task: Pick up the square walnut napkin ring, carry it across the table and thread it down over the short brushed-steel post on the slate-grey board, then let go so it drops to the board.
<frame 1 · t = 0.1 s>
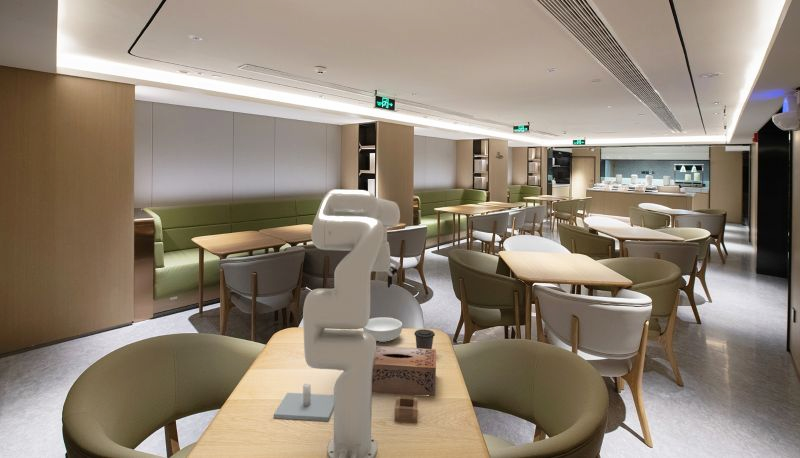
hand: (375, 286, 147), 31 cm above the table, fingers open, 9 cm apart
tissue box cover: (397, 384, 141), on the table
cereal bowl: (382, 339, 179), on the table
post board: (307, 408, 125), on the table
coffee cup: (423, 355, 163), on the table
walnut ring: (406, 415, 122), on the table
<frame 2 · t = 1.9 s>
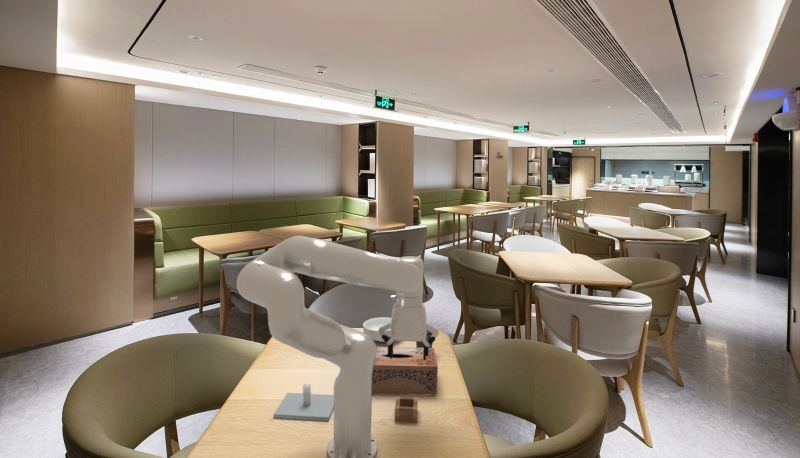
hand: (407, 357, 120), 18 cm above the table, fingers open, 9 cm apart
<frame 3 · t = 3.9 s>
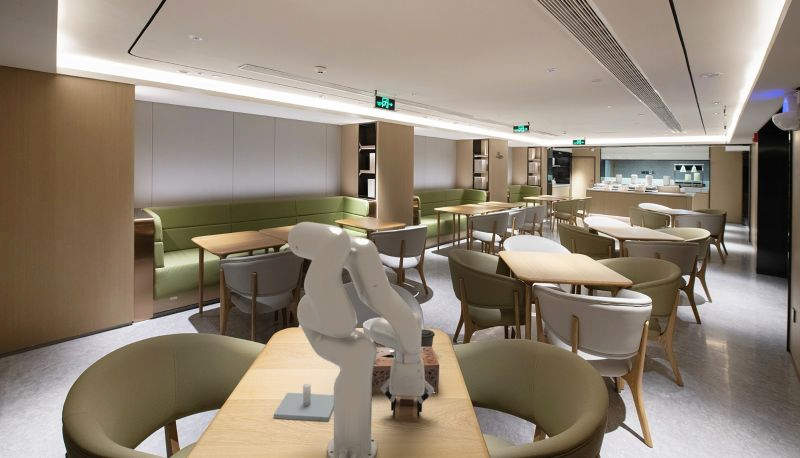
hand: (406, 412, 122), 1 cm above the table, fingers closed on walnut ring, 6 cm apart
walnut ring: (406, 415, 122), on the table, touching gripper
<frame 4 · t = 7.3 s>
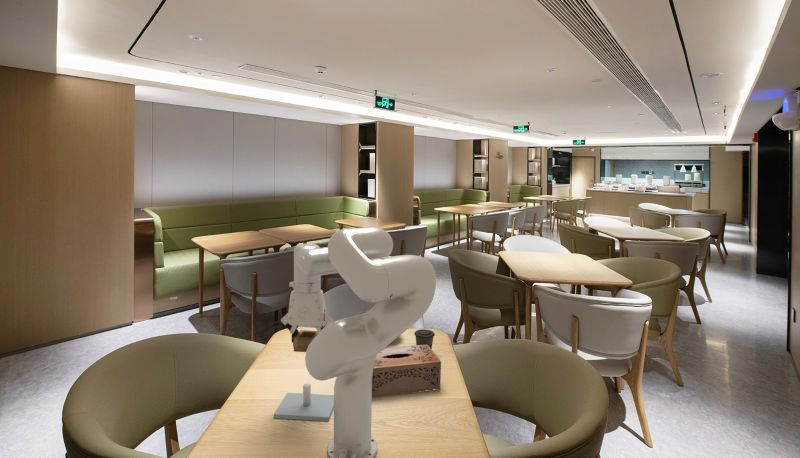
hand: (307, 345, 122), 20 cm above the table, fingers closed on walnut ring, 6 cm apart
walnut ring: (307, 347, 123), point 19 cm above the table, touching gripper
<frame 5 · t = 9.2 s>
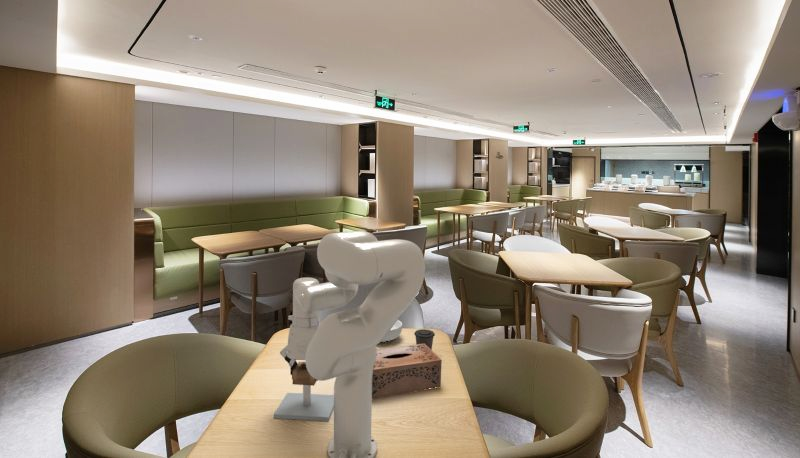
hand: (306, 377, 124), 10 cm above the table, fingers closed on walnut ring, 6 cm apart
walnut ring: (306, 379, 124), point 9 cm above the table, touching gripper
when the fingers open (5 cm above the table, at t = 10.7 s): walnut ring drops 3 cm, resting on post board.
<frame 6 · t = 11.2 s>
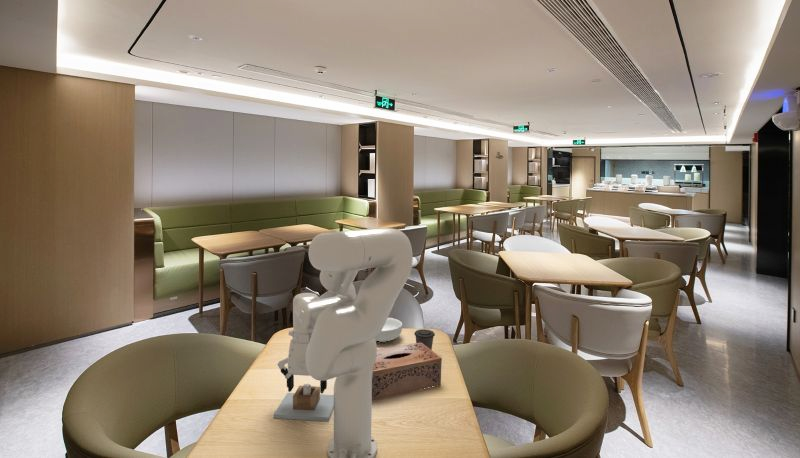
hand: (306, 390, 124), 6 cm above the table, fingers open, 9 cm apart
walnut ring: (306, 404, 125), point 1 cm above the table, touching post board
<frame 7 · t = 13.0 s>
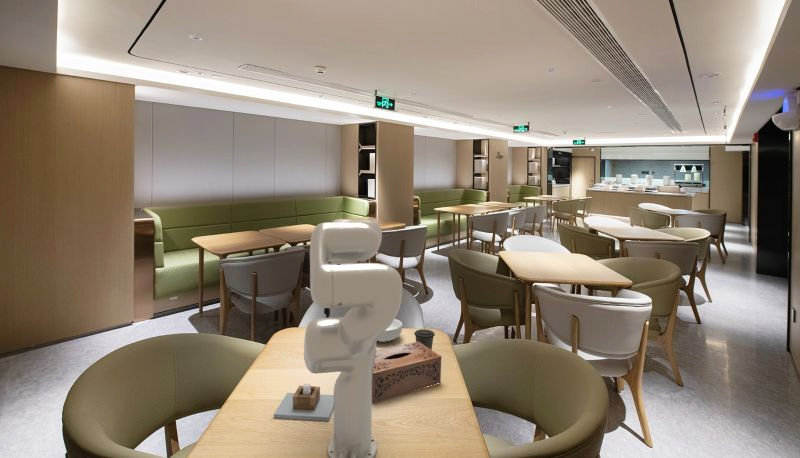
hand: (344, 316, 125), 28 cm above the table, fingers open, 9 cm apart
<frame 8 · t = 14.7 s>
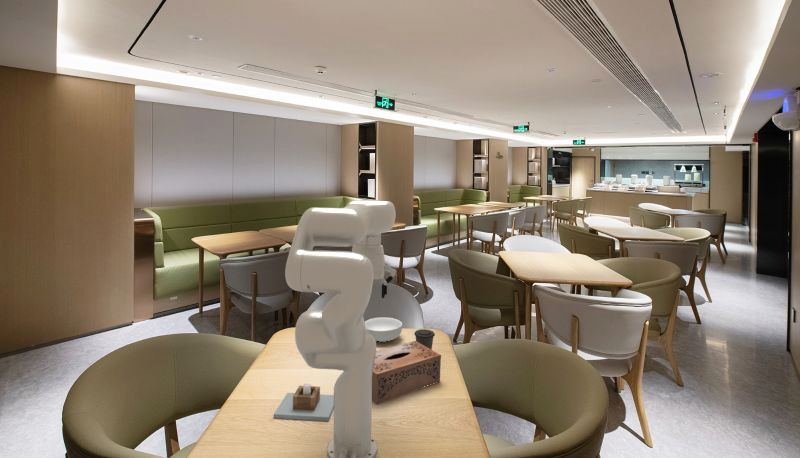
hand: (367, 296, 127), 33 cm above the table, fingers open, 9 cm apart
at the end: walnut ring 0.2 cm off-centre on the post board, point 1.2 cm above the post board's base; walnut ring tilted 0°; the gripper is holding nothing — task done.
